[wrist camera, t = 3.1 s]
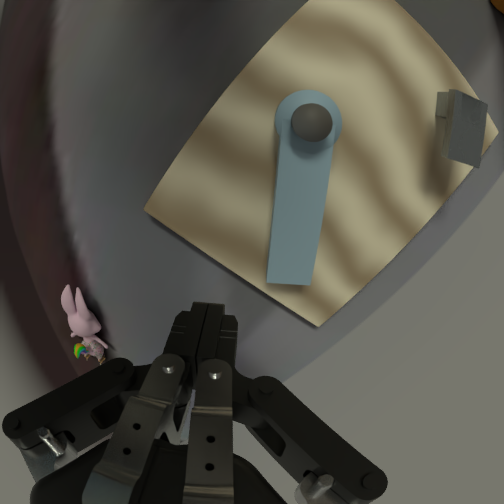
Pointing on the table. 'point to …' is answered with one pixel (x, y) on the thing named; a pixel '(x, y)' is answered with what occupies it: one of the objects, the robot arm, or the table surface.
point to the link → (299, 192)
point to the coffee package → (498, 5)
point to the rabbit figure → (83, 325)
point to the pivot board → (343, 157)
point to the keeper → (462, 126)
